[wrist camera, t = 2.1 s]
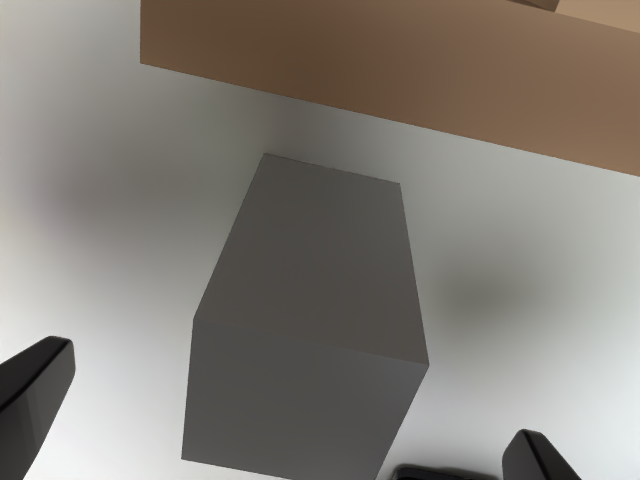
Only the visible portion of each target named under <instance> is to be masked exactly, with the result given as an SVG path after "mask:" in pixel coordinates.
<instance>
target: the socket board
mask: <svg viewBox="0 0 640 480" xmlns="http://www.w3.org/2000/svg"><path fill="white" fill-rule="evenodd" d="M140 63H142V64H147V65H151V66H156V67H160V68H164V69H169V70H173V71H178V72H182V73H186V74H191V75H195V76H200V77H204V78H208V79H213V80H217V81H221V82H226V83H230V84H235V85H239V86H243V87H248V88H252V89H257V90H261V91H265V92H270V93H274V94H279V95H283V96H287V97H292V98H296V99H301V100H305V101H309V102H314V103H318V104H323V105H327V106H331V107H336V108H340V109H345V110H349V111H353V112H358V113H362V114H367V115H371V116H375V117H380V118H384V119H389V120H393V121H397V122H402V123H406V124H411V125H415V126H419V127H424V128H428V129H433V130H437V131H441V132H446V133H450V134H454V135H459V136H463V137H468V138H472V139H476V140H481V141H485V142H490V143H494V144H498V145H503V146H507V147H512V148H516V149H520V150H525V151H529V152H534V153H538V154H542V155H547V156H551V157H556V158H560V159H564V160H569V161H573V162H578V163H582V164H586V165H591V166H595V167H600V168H604V169H608V170H613V171H617V172H622V173H626V174H630V175H635V176H639V177H640V0H141V23H140Z"/></svg>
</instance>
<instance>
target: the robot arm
mask: <svg viewBox="0 0 640 480" xmlns="http://www.w3.org/2000/svg"><path fill="white" fill-rule="evenodd" d="M74 375H75V357H74V346H73V342H72V341H71V340H70V339H67V338H62V337H57V336H48V337H46V338H44V339H42V340H40V341H39V342H37V343H35V344H34V345H32V346H30V347H29V348H27V349H25V350H24V351H22V352H20V353H18V354H17V355H15V356H13V357H12V358H10V359H8V360H7V361H5V362H3V363H1V364H0V480H23V478H24V477H25V475H26V473H27V472H28V470H29V468H30V467H31V465H32V463H33V461H34V460H35V458H36V456H37V454H38V452H39V450H40V448H41V446H42V444H43V442H44V440H45V438H46V436H47V434H48V432H49V430H50V428H51V425H52V423H53V421H54V419H55V417H56V415H57V413H58V411H59V408H60V406H61V404H62V402H63V400H64V398H65V396H66V393H67V391H68V389H69V387H70V385H71V383H72V381H73V378H74ZM502 469H503V480H582V479H581V478H580V477H579V476H578V475H577V473H576V472H575V471H574V470H573V469H572V467H571V466H570V465H569V464H568V463H567V462H566V460H565V459H564V458H563V457H562V456H561V454H560V453H559V452H558V451H557V450H556V448H555V447H554V446H553V445H552V444H551V443H550V441H549V440H548V439H547V438H546V437H545V436H544V435H543V434H542V433H540V432H537V431H532V430H527V429H521V430H519V431H518V432H517V434H516V435H515V436H514V438H513V439H512V441H511V442H510V444H509V445H508V447H507V448H506V450H505V451H504V454H503V458H502ZM391 480H469V479H464V478H459V477H453V476H448V475H443V474H438V473H432V472H427V471H422V470H416V469H411V468H401V469H399V470H397V471H396V472H395V474H394V476H393V477H392V479H391Z"/></svg>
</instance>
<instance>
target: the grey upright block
mask: <svg viewBox="0 0 640 480" xmlns="http://www.w3.org/2000/svg"><path fill="white" fill-rule="evenodd" d="M428 367H429V360H428V354H427V348H426V342H425V336H424V329H423V323H422V317H421V311H420V305H419V299H418V293H417V287H416V280H415V274H414V268H413V262H412V256H411V250H410V244H409V238H408V231H407V225H406V219H405V213H404V207H403V201H402V195H401V189H400V183H395V182H391V181H386V180H382V179H377V178H373V177H368V176H363V175H359V174H354V173H350V172H345V171H341V170H336V169H332V168H327V167H323V166H318V165H314V164H309V163H305V162H300V161H296V160H291V159H286V158H282V157H277V156H273V155H268V154H263V157H262V159H261V161H260V164H259V166H258V168H257V171H256V173H255V175H254V178H253V180H252V182H251V185H250V187H249V190H248V192H247V194H246V197H245V199H244V201H243V204H242V206H241V208H240V211H239V213H238V215H237V218H236V220H235V222H234V225H233V227H232V229H231V232H230V234H229V236H228V239H227V241H226V243H225V246H224V248H223V250H222V253H221V255H220V257H219V260H218V262H217V264H216V267H215V269H214V271H213V274H212V276H211V278H210V281H209V283H208V285H207V288H206V290H205V292H204V295H203V297H202V299H201V302H200V304H199V306H198V309H197V311H196V313H195V316H194V318H193V330H192V341H191V353H190V364H189V376H188V387H187V399H186V410H185V422H184V434H183V445H182V457H181V459H183V460H188V461H194V462H199V463H205V464H210V465H215V466H221V467H226V468H232V469H237V470H243V471H248V472H253V473H259V474H264V475H270V476H275V477H281V478H286V479H291V480H375V478H376V476H377V474H378V472H379V470H380V468H381V466H382V464H383V462H384V460H385V458H386V455H387V453H388V451H389V449H390V447H391V445H392V443H393V441H394V439H395V437H396V434H397V432H398V430H399V428H400V426H401V424H402V422H403V420H404V418H405V416H406V413H407V411H408V409H409V407H410V405H411V403H412V401H413V399H414V397H415V395H416V393H417V390H418V388H419V386H420V384H421V382H422V380H423V378H424V376H425V374H426V372H427V369H428Z"/></svg>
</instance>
